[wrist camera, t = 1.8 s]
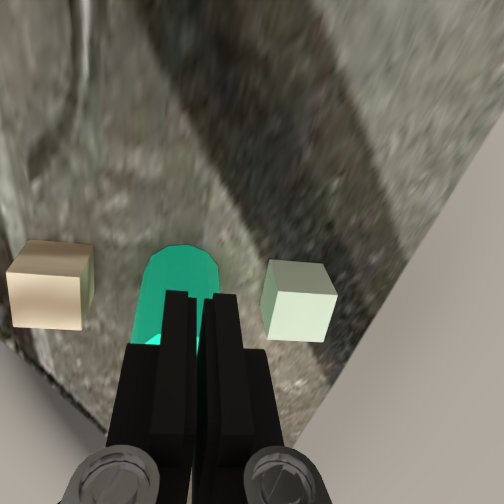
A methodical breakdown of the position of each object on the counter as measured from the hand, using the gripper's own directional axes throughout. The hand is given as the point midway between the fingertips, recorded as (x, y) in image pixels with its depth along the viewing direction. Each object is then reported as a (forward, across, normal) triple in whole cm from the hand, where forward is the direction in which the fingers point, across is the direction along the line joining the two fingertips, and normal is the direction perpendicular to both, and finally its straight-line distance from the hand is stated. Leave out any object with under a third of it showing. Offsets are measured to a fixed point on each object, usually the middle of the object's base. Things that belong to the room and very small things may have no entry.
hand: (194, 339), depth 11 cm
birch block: (+21, +9, +12) cm, 26 cm away
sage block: (+21, -9, +12) cm, 26 cm away
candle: (+21, 0, +12) cm, 24 cm away
